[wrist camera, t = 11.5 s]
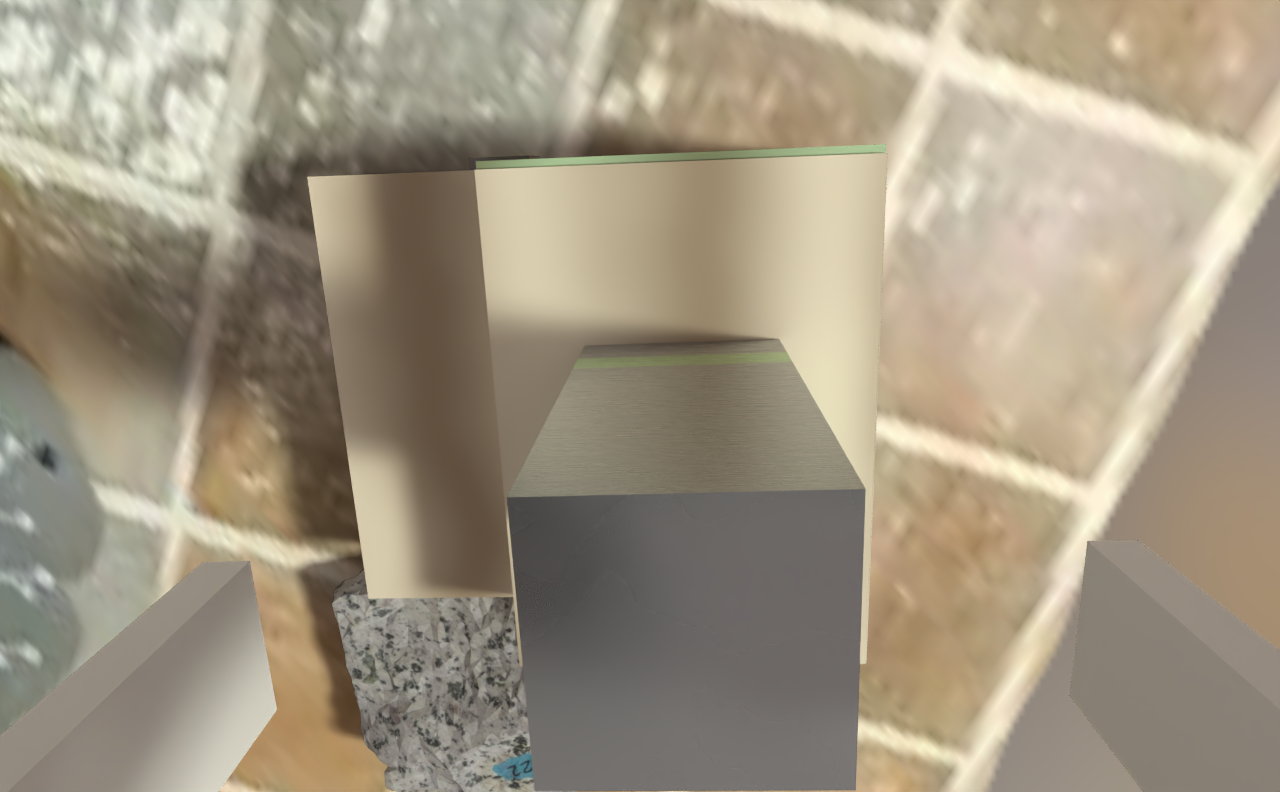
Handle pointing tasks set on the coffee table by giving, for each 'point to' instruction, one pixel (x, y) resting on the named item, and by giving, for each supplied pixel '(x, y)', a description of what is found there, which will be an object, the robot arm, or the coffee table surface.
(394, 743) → the rock
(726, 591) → the column
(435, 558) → the stand
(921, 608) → the coffee table surface
